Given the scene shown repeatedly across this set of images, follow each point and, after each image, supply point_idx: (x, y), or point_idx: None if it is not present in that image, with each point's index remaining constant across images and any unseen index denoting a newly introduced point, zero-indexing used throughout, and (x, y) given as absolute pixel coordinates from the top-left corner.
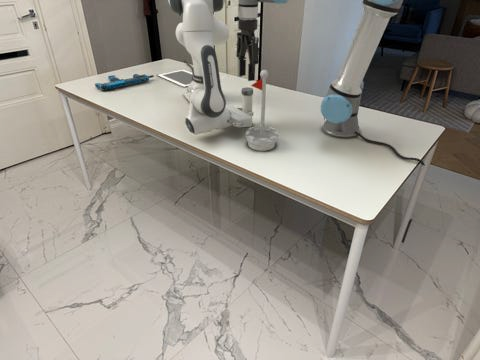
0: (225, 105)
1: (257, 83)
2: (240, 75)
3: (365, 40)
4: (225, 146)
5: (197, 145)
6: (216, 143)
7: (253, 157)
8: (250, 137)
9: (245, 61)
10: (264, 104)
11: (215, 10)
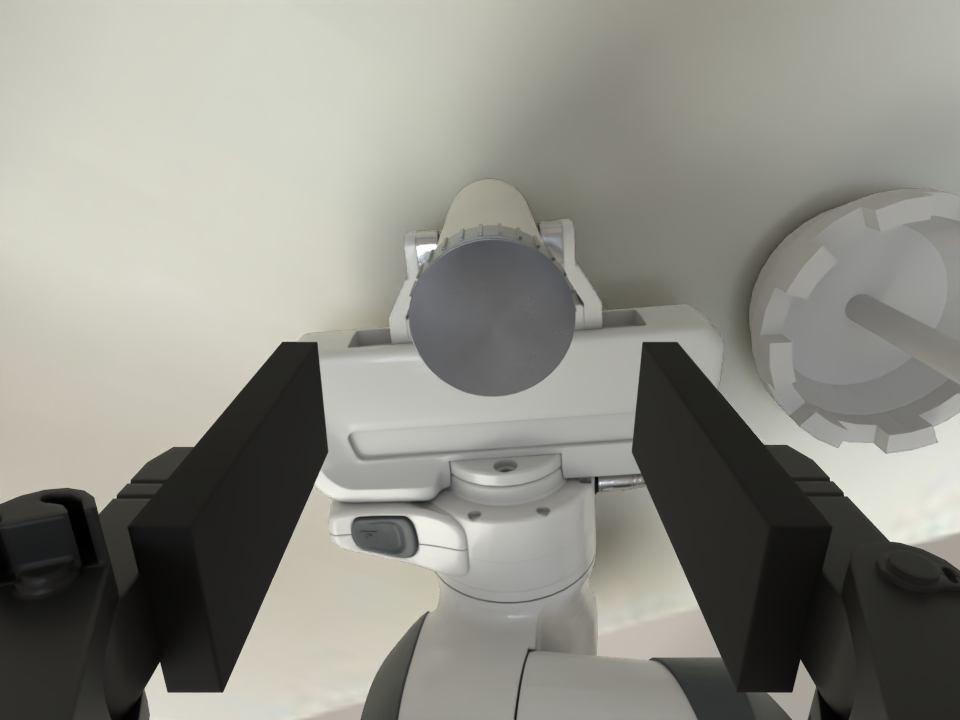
0: (762, 697)
1: None
2: (323, 450)
3: None
4: None
5: (601, 622)
6: (641, 533)
7: (942, 432)
8: (908, 449)
9: (213, 509)
10: None
11: None
